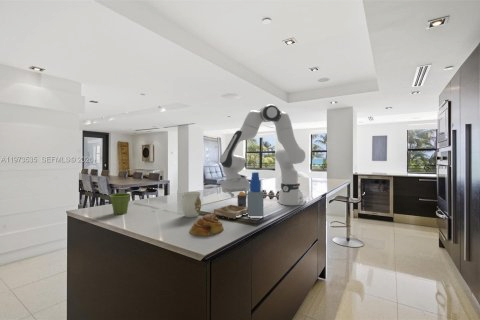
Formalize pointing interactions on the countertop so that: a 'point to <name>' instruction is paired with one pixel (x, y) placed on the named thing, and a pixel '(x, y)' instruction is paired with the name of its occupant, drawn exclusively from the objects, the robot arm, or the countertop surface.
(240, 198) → the black shaker
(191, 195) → the pitcher
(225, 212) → the birch tray
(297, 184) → the robot arm
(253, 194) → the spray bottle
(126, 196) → the plant pot
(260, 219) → the countertop surface
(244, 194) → the orange ball
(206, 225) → the pastry
